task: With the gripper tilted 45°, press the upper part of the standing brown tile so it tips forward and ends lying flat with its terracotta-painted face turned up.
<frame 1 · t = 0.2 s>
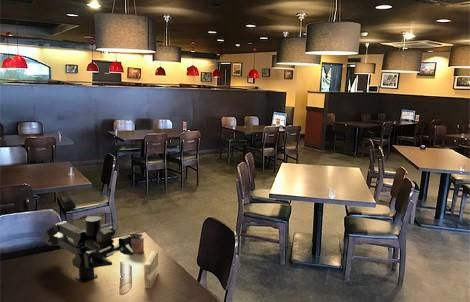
hand: (122, 258, 133), 16 cm above the table, tool horizontal, fingers open, 9 cm apart
brown tile: (151, 280, 150), on the table
brown upright container: (136, 253, 174), on the table
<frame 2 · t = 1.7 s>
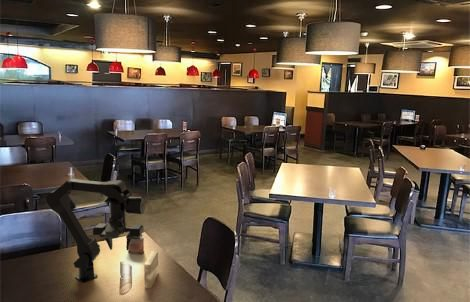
hand: (119, 249, 148), 13 cm above the table, tool pointing down, fingers open, 6 cm apart
nothing on the table moved.
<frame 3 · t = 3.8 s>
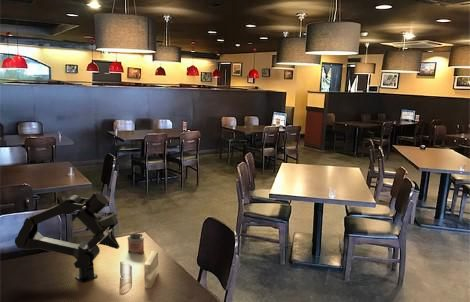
hand: (118, 247, 148), 14 cm above the table, tool tilted 45°, fingers closed
nothing on the table moved.
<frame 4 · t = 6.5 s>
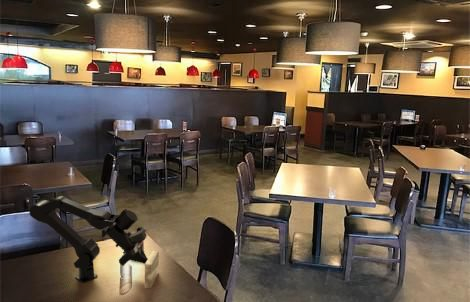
hand: (148, 263, 149), 7 cm above the table, tool tilted 45°, fingers closed, pressing on brown tile
brown tile: (151, 280, 150), on the table, touching gripper
everything else where it was.
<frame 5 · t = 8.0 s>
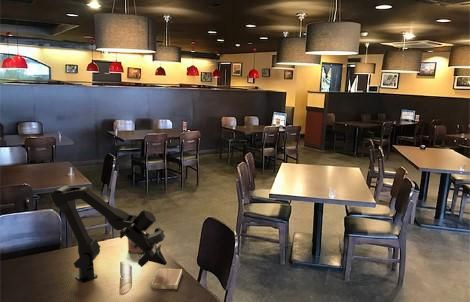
hand: (166, 264, 149), 7 cm above the table, tool tilted 45°, fingers closed
brown tile: (155, 278, 150), point 1 cm above the table, tilted 90°
everything else where it was.
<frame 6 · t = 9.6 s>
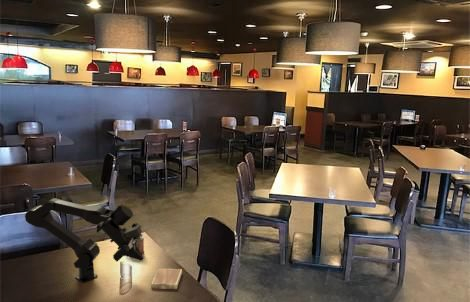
hand: (142, 259, 149), 9 cm above the table, tool tilted 45°, fingers closed
nothing on the table moved.
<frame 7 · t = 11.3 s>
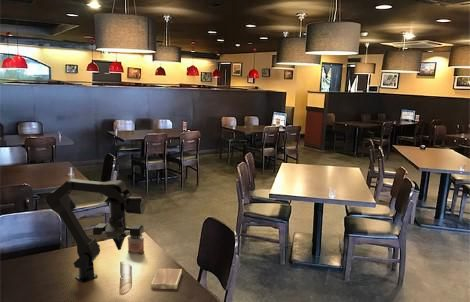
hand: (119, 249, 148), 13 cm above the table, tool pointing down, fingers closed
nothing on the table moved.
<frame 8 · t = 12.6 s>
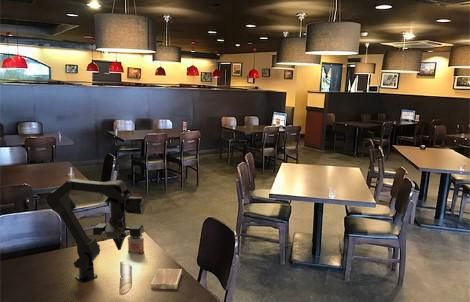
hand: (119, 249, 148), 13 cm above the table, tool pointing down, fingers closed
nothing on the table moved.
at the end: brown tile tilted 90°; brown tile inside the target area (3.4 cm from its centre), point 0.7 cm above the table; the gripper is holding nothing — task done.
